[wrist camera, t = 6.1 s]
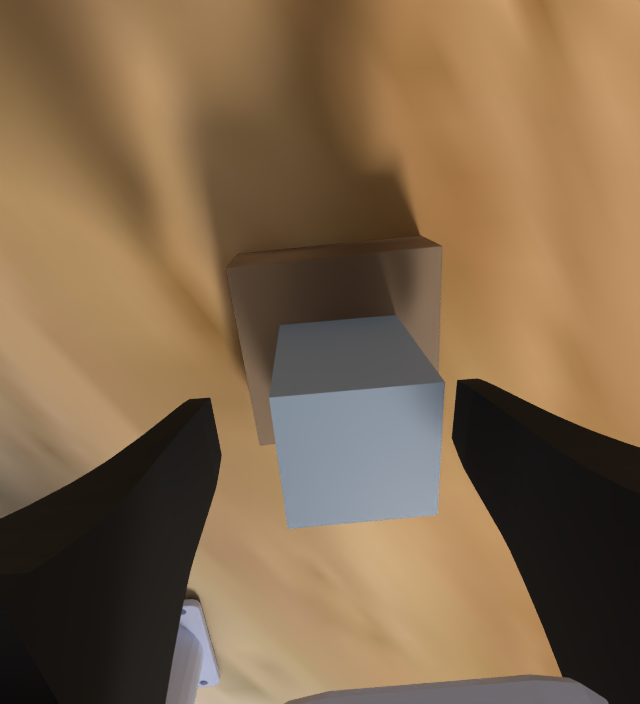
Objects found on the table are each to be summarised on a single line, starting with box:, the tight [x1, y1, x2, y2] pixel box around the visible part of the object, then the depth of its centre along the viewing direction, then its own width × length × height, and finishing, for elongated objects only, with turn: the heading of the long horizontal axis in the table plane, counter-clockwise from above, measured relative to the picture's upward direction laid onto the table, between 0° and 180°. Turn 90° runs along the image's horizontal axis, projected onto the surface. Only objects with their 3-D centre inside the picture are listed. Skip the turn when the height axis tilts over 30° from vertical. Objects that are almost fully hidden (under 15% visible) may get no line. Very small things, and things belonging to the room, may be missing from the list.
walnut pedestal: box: [226, 235, 442, 445], centre depth 15 cm, size 7×7×3 cm
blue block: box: [269, 315, 445, 529], centre depth 12 cm, size 4×4×5 cm
